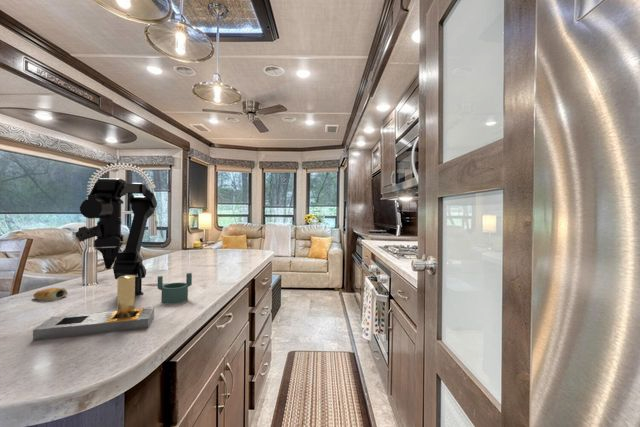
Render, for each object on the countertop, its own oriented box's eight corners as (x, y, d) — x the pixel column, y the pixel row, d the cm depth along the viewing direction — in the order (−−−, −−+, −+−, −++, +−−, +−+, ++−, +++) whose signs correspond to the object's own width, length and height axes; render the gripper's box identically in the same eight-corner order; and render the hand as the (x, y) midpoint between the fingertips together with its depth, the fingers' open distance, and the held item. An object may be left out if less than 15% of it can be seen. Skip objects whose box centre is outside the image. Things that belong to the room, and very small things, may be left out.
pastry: (26, 300, 100) (26, 289, 100) (46, 295, 107) (46, 284, 107) (52, 302, 99) (52, 290, 99) (70, 296, 106) (70, 285, 106)
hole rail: (32, 340, 70) (32, 329, 70) (51, 326, 79) (51, 316, 78) (148, 328, 79) (148, 317, 78) (154, 316, 87) (154, 307, 87)
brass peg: (126, 321, 83) (127, 275, 83) (138, 322, 82) (138, 276, 82) (113, 326, 79) (113, 278, 79) (125, 328, 78) (125, 279, 78)
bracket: (193, 297, 107) (193, 272, 107) (175, 305, 98) (175, 278, 98) (172, 295, 109) (172, 271, 109) (152, 302, 100) (153, 276, 100)
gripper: (83, 216, 98) (82, 263, 98) (71, 218, 82) (71, 274, 82) (123, 217, 104) (123, 261, 104) (120, 218, 88) (119, 271, 88)
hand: (109, 266), depth 94 cm, fingers open, 9 cm apart
